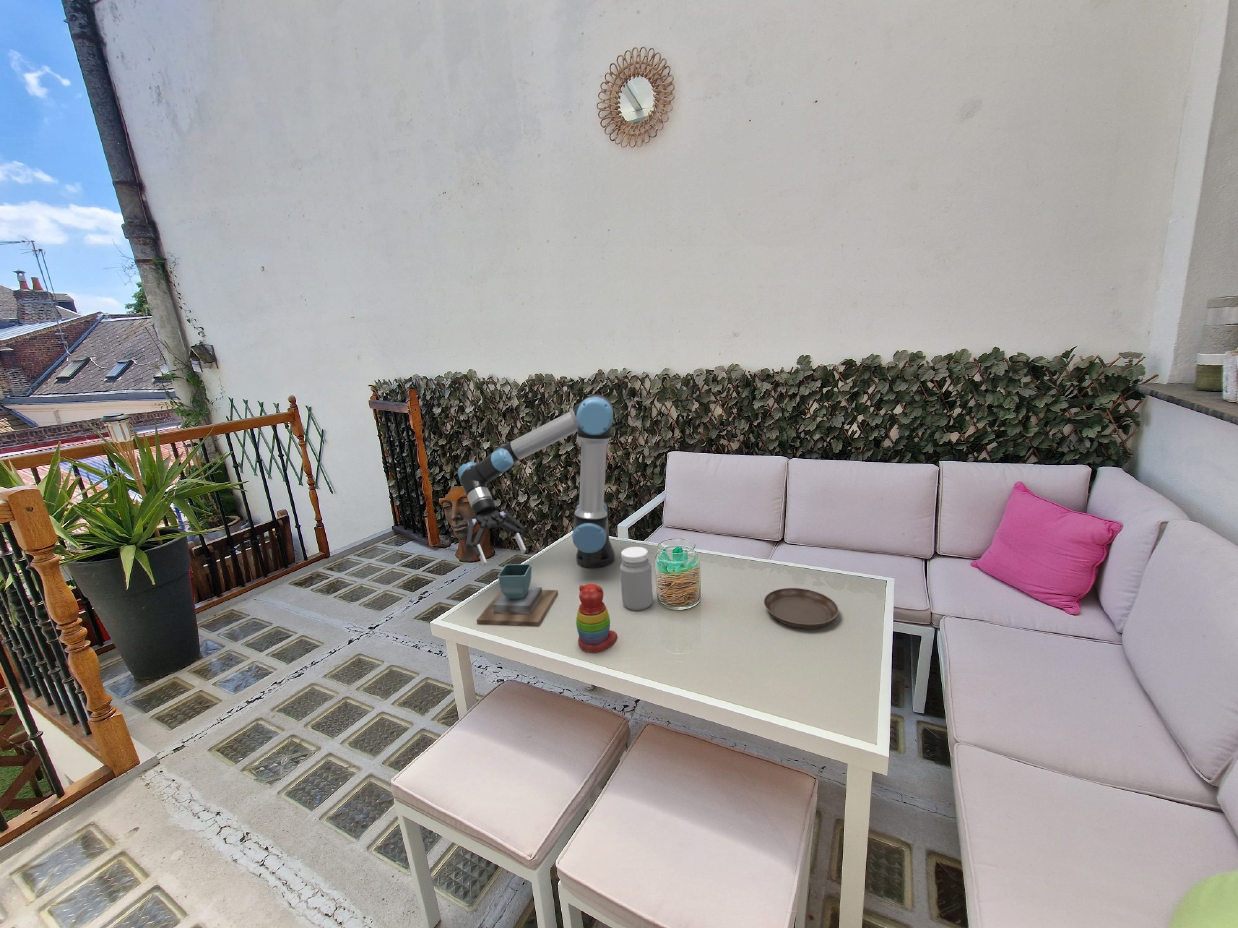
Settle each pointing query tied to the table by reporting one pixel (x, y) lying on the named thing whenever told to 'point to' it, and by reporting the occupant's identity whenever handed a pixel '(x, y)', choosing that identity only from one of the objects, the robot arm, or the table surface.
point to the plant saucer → (801, 607)
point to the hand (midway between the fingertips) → (505, 557)
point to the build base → (519, 618)
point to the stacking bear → (593, 620)
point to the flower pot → (515, 580)
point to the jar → (636, 578)
